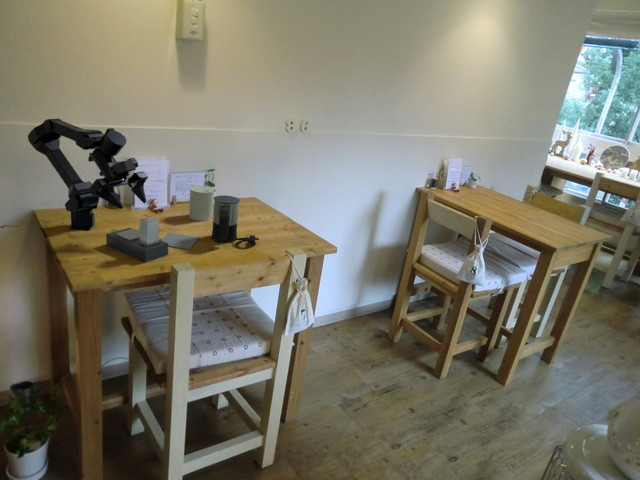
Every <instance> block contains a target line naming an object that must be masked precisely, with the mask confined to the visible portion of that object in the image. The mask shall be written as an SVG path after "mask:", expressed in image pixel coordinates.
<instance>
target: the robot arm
mask: <svg viewBox="0 0 640 480" xmlns="http://www.w3.org/2000/svg"><path fill="white" fill-rule="evenodd" d="M62 137H65V138H67V139H69V140H72V141H74V142H75V145H76V146H77V147H79V148H80V149H82V150H84V151H87V150H89V151H90V150H93V151H92V152H89V153H88V155H89V156H88V158H87V159H88V160H87V161H88V162H90V163H91V162H94V163H95V165H96V166H97V168H98V169H99V171H100V172H99V173H98V174H99V176H100V177H102V178H95V180H94V181H93V182H91V181H83V179H81V177H80V175H79V174H78V173H77V171H76V170H75V168H74V167H73V165H71V164H72V163H70V161H69V160H68V158H67V156H66V155H65V154H64V153H63V151H62V150H61V148H60V143H61V142H60V141H61V140H60V138H62ZM27 140H28V142H29V144H30V145H31V146H32V147H33V148H34V149H35V150H36V151H37V152H39V153H40V154H42V155H44V156H45V157H46V158H47V160H48V161H49V162H50V163H51V165H52V166H53V168H54V170H55V171H56V173H57V175H59V176H60V178H61V179H62V182H63V183H64V184H65V185H66V187H67V189H68V193H67V194H68V195H67V196H68V198H69V199H68V200H67V201H66V202H65V203H64V207H65V210H66V211H67V212H70V221H71V223H70V226H69V229H71V230H82V231H83V230H84V231H90V230H91V229H92V228H93V227H94V226H95V225H96V219H95V212H94V210H96V209H98V206H99V201H100V199H102V200H104V201H106V202H108V203H110V204H112V205H113V206H114V207H117V208H118V209H120V210H122V209H123V208H124V205H123V203H122V201H121V200H120V198H119V197H118V196H117V194H116V192H115V189H114V188H115V187H120V186H126V185H128V187H129V188H131V189H130V191H131V192H132V193H133V194H134V195H135V196H136V197H137V199H139V201H141V202H142V204H146V203H147V198H146V194H145V188H144V187H145V186H144V185H145V182H147V180H148V179H149V176H148V175H147V173H146V171H136V170H137V168H138V167H139V162H138V160H137V159H136V158H135V157H130V158H127V159H126V160H123V161H120V160H119V161H117V160H116V158H115V156H118V154H119V153H120V152H121V151H122V149H124V146H125V145H126V144H127V138H126V136H125V135H123V133H121V132H119V131H117V130H115V128H113V127H109V128H106V130H105V132H104V133H103V131H101V130H100V129H93V128H92V129H88V128H87V129H86V128H82V127H79V126H77V125H74V124H72V123H69V122H66V121H64V120H62V119H60V118H48V119H45V120H44V121H43V122H42V123H41V124H39V125H37V126H35V127H34V128H32V129H31V130H30V132H29V133H28V135H27ZM133 171H136V172H133ZM131 172H133V173H132V174H131V176H130V173H131ZM128 176H129V177H128Z"/></svg>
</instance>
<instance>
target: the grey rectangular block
mask: <svg viewBox="0 0 640 480" xmlns="http://www.w3.org/2000/svg"><path fill="white" fill-rule="evenodd" d="M138 222H139V227H138V229H139V230H138V231H139V245H142V246H144V247H147V248H148V247H151V246H155V245H158V244H159V240H160V237H159V236H160V219H159V218H156V217H153V216H148V217H145V218H140V219H139V221H138Z"/></svg>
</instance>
